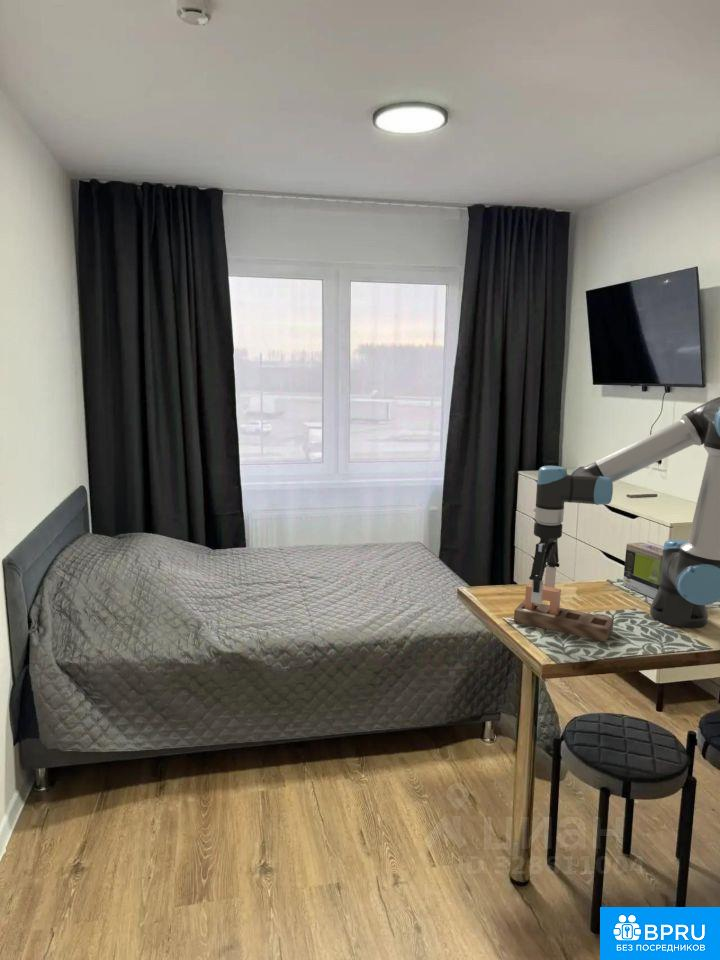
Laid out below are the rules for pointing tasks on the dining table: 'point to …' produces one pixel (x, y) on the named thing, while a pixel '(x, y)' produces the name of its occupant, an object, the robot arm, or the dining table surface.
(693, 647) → the dining table surface
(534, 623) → the brown compartment rack
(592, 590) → the dining table surface
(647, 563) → the grey electronic device
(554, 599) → the pink u-shaped block
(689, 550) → the robot arm
